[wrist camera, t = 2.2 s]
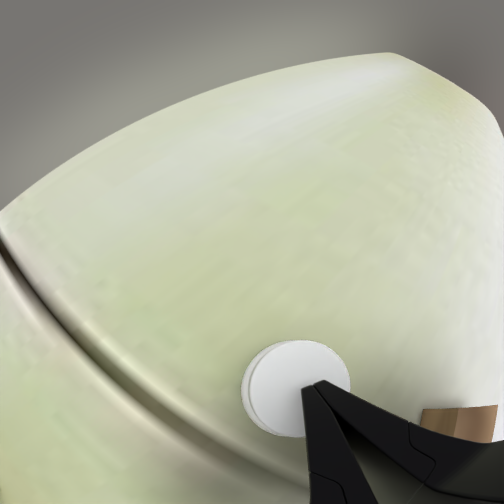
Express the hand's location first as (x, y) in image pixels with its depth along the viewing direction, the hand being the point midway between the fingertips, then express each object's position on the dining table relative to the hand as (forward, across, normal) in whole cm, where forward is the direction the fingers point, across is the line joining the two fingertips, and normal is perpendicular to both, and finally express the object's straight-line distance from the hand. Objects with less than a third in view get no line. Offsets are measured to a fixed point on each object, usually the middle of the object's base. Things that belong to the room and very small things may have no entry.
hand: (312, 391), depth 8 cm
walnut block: (0, -10, +14) cm, 17 cm away
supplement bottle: (+7, 0, +7) cm, 10 cm away
